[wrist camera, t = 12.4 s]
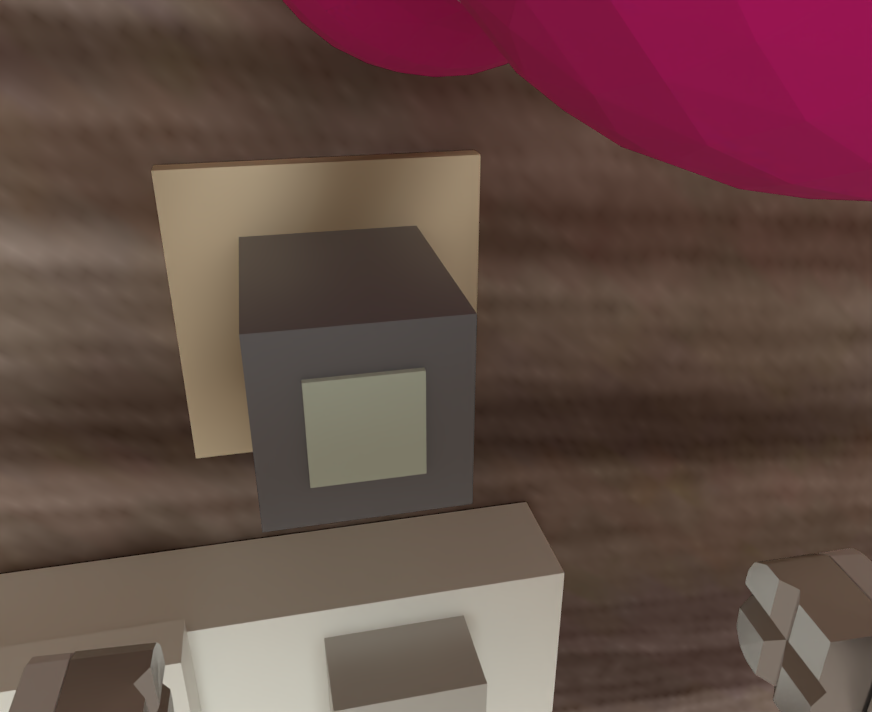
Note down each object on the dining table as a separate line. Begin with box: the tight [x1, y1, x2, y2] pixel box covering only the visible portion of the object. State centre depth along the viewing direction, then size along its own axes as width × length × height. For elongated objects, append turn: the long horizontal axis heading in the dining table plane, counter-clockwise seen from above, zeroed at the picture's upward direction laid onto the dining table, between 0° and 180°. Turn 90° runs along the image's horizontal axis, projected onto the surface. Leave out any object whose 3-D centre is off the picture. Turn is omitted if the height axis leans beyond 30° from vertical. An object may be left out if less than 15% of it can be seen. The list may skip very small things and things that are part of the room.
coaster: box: [151, 150, 481, 458], centre depth 22 cm, size 8×8×1 cm
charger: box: [239, 226, 477, 532], centre depth 19 cm, size 4×4×6 cm
